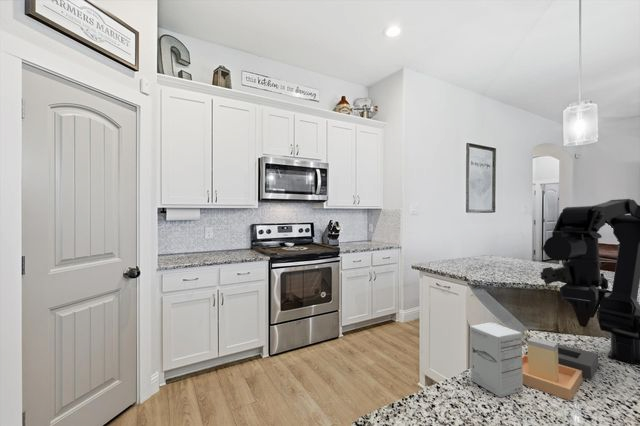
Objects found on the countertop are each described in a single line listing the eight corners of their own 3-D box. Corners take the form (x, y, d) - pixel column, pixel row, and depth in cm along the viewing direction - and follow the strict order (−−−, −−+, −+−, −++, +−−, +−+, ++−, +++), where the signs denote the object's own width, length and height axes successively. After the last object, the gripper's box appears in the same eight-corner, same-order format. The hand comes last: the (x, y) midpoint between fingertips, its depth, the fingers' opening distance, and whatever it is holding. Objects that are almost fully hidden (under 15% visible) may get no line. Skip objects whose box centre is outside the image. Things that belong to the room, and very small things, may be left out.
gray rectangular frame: (540, 350, 83) (540, 339, 83) (598, 366, 74) (598, 353, 74) (529, 361, 76) (528, 349, 77) (591, 379, 67) (590, 366, 67)
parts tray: (522, 362, 76) (522, 353, 76) (582, 381, 67) (582, 370, 67) (506, 378, 68) (505, 368, 68) (570, 401, 59) (570, 389, 59)
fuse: (532, 370, 70) (531, 336, 71) (559, 379, 67) (557, 343, 67) (528, 374, 69) (527, 340, 69) (555, 383, 65) (554, 346, 65)
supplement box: (470, 381, 67) (468, 325, 68) (493, 374, 70) (492, 321, 70) (499, 398, 60) (497, 336, 61) (524, 391, 63) (522, 331, 63)
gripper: (552, 252, 84) (555, 307, 84) (532, 259, 72) (535, 323, 72) (606, 254, 75) (610, 316, 75) (593, 263, 64) (597, 335, 63)
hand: (586, 321), depth 72 cm, fingers open, 9 cm apart
